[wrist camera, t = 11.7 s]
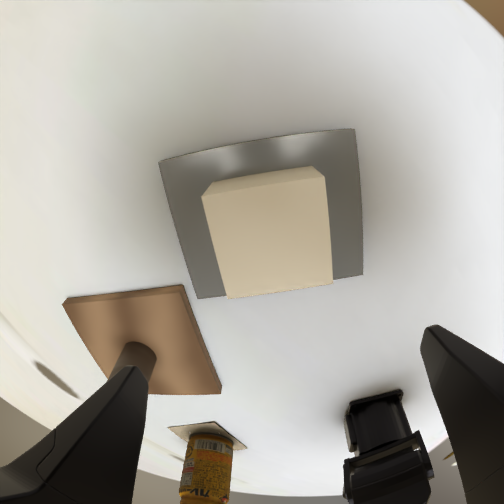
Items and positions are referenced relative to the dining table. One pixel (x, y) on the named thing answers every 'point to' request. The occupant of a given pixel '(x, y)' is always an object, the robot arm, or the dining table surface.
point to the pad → (261, 161)
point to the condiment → (206, 463)
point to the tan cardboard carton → (270, 231)
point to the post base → (146, 338)
